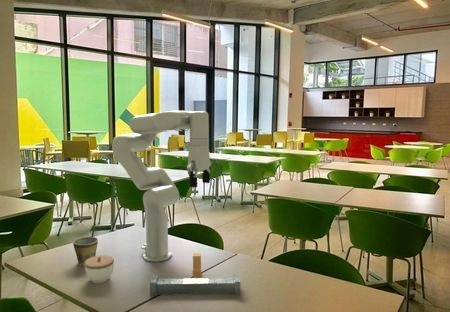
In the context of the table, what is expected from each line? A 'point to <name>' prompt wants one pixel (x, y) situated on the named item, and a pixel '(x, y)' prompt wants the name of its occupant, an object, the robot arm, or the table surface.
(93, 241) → the ceramic cup
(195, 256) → the clip
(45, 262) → the table surface
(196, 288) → the rail
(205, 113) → the robot arm
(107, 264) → the lidded jar
